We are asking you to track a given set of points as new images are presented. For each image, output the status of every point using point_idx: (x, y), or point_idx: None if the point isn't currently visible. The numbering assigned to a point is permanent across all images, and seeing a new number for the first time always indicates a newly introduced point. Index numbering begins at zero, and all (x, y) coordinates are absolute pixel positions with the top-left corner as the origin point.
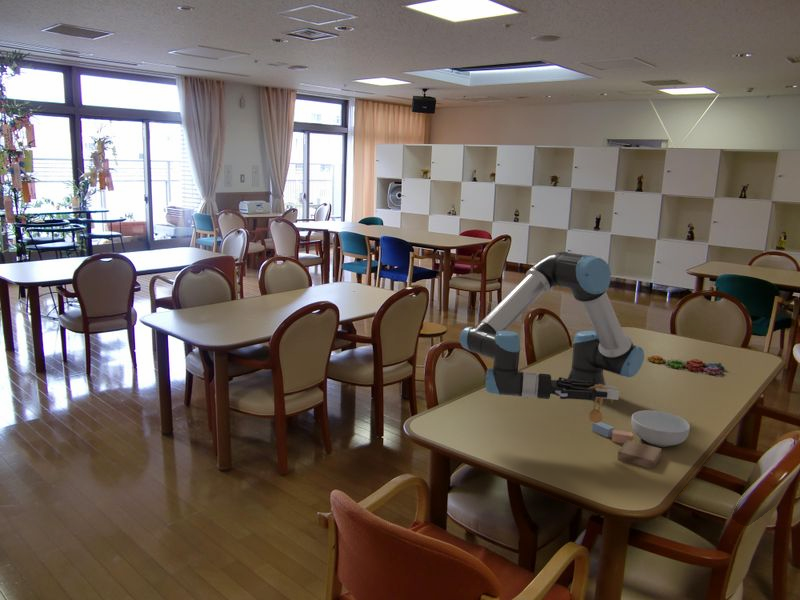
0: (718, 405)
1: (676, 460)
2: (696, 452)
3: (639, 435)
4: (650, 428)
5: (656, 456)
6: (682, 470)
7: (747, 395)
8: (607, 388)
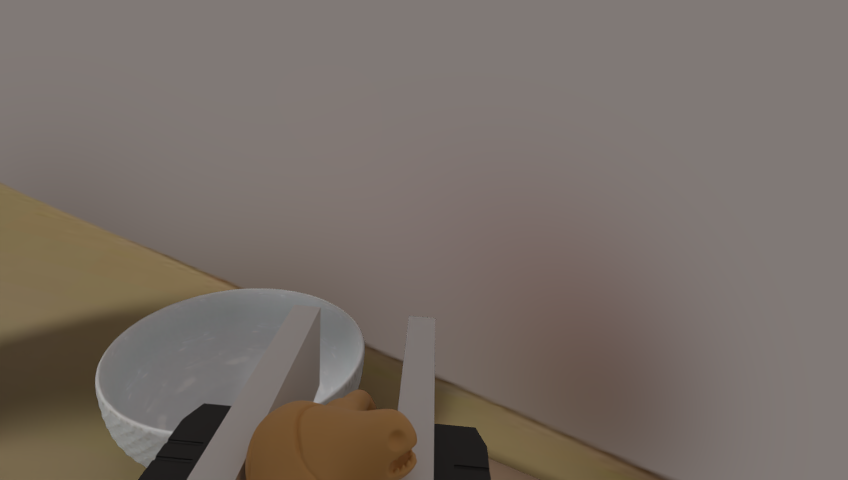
0: (37, 237)
1: None
2: None
3: None
4: (331, 395)
5: (492, 461)
6: (499, 417)
7: (20, 197)
8: (290, 393)
